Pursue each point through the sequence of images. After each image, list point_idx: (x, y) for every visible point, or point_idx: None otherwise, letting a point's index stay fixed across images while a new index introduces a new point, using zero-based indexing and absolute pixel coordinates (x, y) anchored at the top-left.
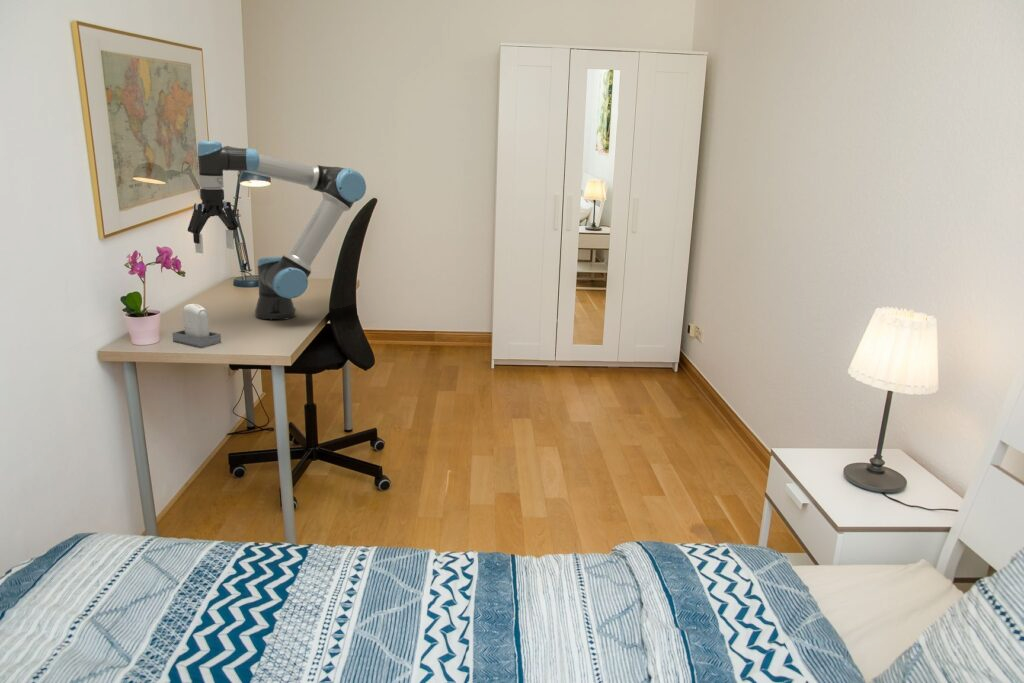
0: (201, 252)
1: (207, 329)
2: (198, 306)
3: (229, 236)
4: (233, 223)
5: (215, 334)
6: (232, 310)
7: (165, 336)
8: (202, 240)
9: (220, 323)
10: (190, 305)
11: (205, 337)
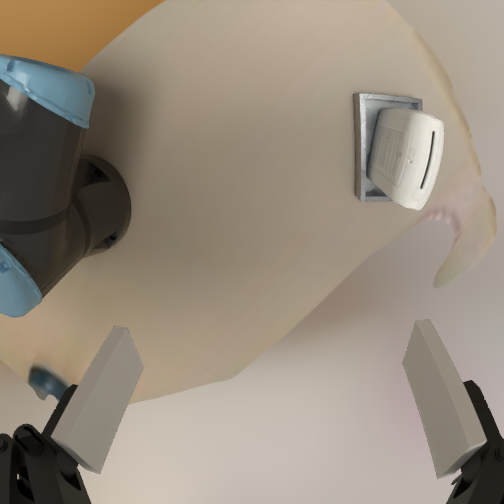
0: (431, 323)
1: (397, 109)
2: (430, 145)
3: (100, 413)
4: (23, 479)
5: (364, 107)
6: (137, 305)
7: (387, 240)
8: (452, 396)
9: (225, 239)
10: (434, 176)
11: (406, 101)
